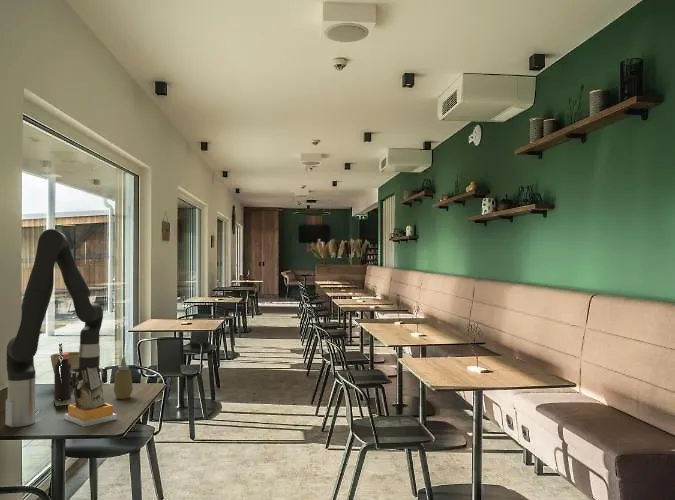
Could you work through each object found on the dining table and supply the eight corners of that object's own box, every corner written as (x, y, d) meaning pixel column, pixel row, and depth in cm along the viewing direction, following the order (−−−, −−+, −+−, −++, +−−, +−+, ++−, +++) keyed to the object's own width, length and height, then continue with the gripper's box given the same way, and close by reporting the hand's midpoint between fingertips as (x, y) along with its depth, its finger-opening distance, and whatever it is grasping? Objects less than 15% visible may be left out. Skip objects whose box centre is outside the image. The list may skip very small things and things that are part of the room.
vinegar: (74, 396, 261) (74, 352, 262) (65, 400, 255) (65, 355, 255) (59, 396, 262) (60, 352, 262) (51, 400, 255) (51, 355, 255)
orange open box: (83, 426, 215) (83, 412, 215) (64, 419, 225) (64, 405, 225) (116, 419, 225) (116, 405, 225) (96, 412, 235) (96, 398, 235)
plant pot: (74, 382, 292) (75, 350, 292) (89, 386, 283) (89, 353, 283) (44, 387, 281) (44, 354, 281) (58, 391, 271) (59, 357, 271)
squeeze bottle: (109, 398, 257) (109, 358, 258) (123, 395, 264) (124, 355, 265) (122, 401, 254) (122, 360, 254) (136, 397, 261) (136, 357, 261)
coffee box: (106, 403, 227) (99, 363, 227) (94, 408, 221) (87, 367, 221) (87, 405, 230) (81, 365, 230) (75, 410, 224) (68, 369, 224)
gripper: (75, 358, 218) (74, 401, 217) (111, 353, 228) (110, 394, 228) (66, 355, 222) (65, 398, 222) (102, 351, 233) (101, 391, 233)
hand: (88, 396), depth 225 cm, fingers closed on coffee box, 8 cm apart
